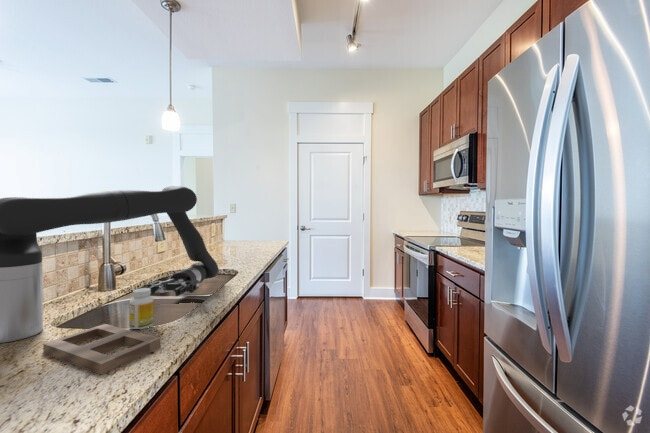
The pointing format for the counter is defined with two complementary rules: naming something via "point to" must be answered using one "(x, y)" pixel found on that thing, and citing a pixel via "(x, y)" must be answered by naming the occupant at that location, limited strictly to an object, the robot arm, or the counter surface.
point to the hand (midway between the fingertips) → (161, 292)
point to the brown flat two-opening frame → (101, 347)
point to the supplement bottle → (141, 309)
